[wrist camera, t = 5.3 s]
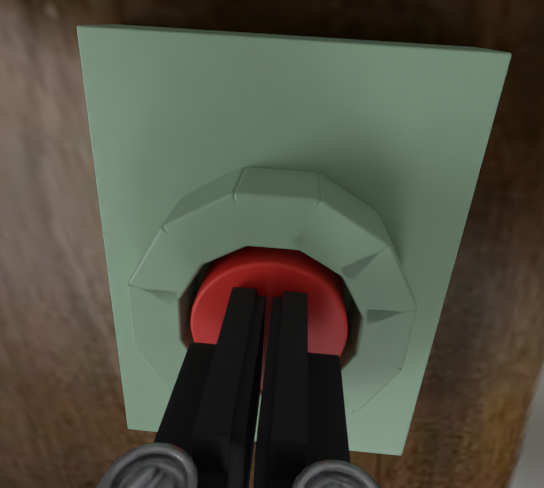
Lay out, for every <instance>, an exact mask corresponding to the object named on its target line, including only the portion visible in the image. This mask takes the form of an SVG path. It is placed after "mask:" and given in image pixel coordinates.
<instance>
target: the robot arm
mask: <svg viewBox="0 0 544 488" xmlns="http://www.w3.org/2000/svg"><path fill="white" fill-rule="evenodd" d="M265 306H266V296H261V295H257V289H254V288H242V287H233V288H232V291H231V294H230V298H229V301H228V305H227V309H226V312H225V316H224V319H223V323H222V326H221V330H220V334H219V337H218V341H217V344H209V343H198V342H192V343H190V345H189V347H188V350H187V352H186V355H185V358H184V361H183V363H182V366H181V369H180V372H179V374H178V377H177V380H176V383H175V385H174V388H173V391H172V394H171V396H170V399H169V402H168V405H167V407H166V410H165V413H164V415H163V418H162V421H161V424H160V426H159V429H158V432H157V435H156V437H155V440H154V443H150V444H144V445H140V446H138V447H135V448H133V449H131V450H128V451H127V452H126V453H124V454H123V455H121V456H120V457H119V458H117V459H116V460H115V461H114V462H113V464H112V465H111V466H110V467H109V468H108V470H107V471H106V472H105V474H104V475H103V477H102V479H101V480H100V482H99V483H98V485H97V487H96V488H249V481H250V473H251V465H252V457H253V449H254V441H255V433H256V424H257V416H258V408H259V400H260V390H261V374H262V357H263V340H264V323H265ZM254 488H380V486H379V485H378V484H377V483H376V481H375V480H374V479H373V478H372V477H371V476H370V475H369V474H368V473H367V472H365V471H364V470H362V469H361V468H359V467H358V466H356V465H353V464H351V463H350V454H349V444H348V434H347V424H346V414H345V404H344V394H343V384H342V374H341V364H340V357H339V355H332V354H321V353H310V352H308V294H307V293H301V292H289V291H283V297H273V304H272V312H271V321H270V329H269V337H268V346H267V354H266V362H265V370H264V379H263V387H262V395H261V403H260V412H259V420H258V429H257V440H256V453H255V471H254Z"/></svg>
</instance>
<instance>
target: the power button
mask: <svg viewBox="0 0 544 488" xmlns="http://www.w3.org/2000/svg"><path fill="white" fill-rule="evenodd" d="M233 287H242V288H254V289H257V295H261V296H266V306H265V323H264V340H263V357H262V374H261V389H262V387H263V379H264V370H265V362H266V354H267V346H268V337H269V329H270V321H271V312H272V304H273V297H283V291H289V292H301V293H307V294H308V352H310V353H321V354H332V355H339V357H340V355H341V353H342V351H343V349H344V347H345V344H346V340H347V334H348V324H347V315H346V307H345V300H344V292H343V285H342V280H341V276H340V275H339V274H337V273H336V272H334V271H333V270H331V269H329V268H328V267H326V266H325V265H323V264H321V263H320V262H318V261H317V260H315V259H313V258H312V257H310V256H309V255H307V254H305V253H304V252H302V251H300V250H293V249H280V248H268V247H256V246H245V247H243V248H241V249H238V250H236V251H234V252H231V253H229V254H227V255H224V256H222V257H220V258H217V259H215V260H213V261H211V262H210V264H209V266H208V269H207V271H206V274H205V276H204V279H203V282H202V284H201V287H200V289H199V292H198V294H197V297H196V299H195V302H194V304H193V307H192V312H191V322H190V324H191V332H192V336H193V339H194V342H198V343H209V344H217V341H218V337H219V334H220V330H221V326H222V323H223V319H224V316H225V312H226V309H227V305H228V301H229V298H230V294H231V291H232V288H233Z"/></svg>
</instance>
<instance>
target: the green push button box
mask: <svg viewBox="0 0 544 488" xmlns="http://www.w3.org/2000/svg"><path fill="white" fill-rule="evenodd" d="M77 34H78V42H79V50H80V58H81V66H82V73H83V81H84V89H85V97H86V105H87V112H88V120H89V128H90V136H91V144H92V152H93V159H94V167H95V175H96V183H97V191H98V198H99V206H100V214H101V222H102V230H103V237H104V245H105V253H106V261H107V269H108V276H109V284H110V292H111V300H112V308H113V315H114V323H115V331H116V339H117V347H118V354H119V362H120V370H121V378H122V386H123V394H124V401H125V409H126V417H127V425H128V429H134V430H144V431H155V432H158V429H159V426H160V424H161V421H162V418H163V415H164V413H165V410H166V407H167V405H168V402H169V399H170V396H171V394H172V391H173V388H174V385H175V383H176V380H177V377H178V374H179V372H180V369H181V366H182V363H183V361H184V358H185V355H186V352H187V350H188V347H189V345H190V343H192V342H194V339H193V336H192V332H191V324H190V322H191V312H192V307H193V304H194V302H195V299H196V297H197V294H198V292H199V289H200V287H201V284H202V282H203V279H204V276H205V274H206V271H207V269H208V266H209V264H210V262H211V261H213V260H215V259H217V258H220V257H222V256H224V255H227V254H229V253H231V252H234V251H236V250H238V249H241V248H243V247H245V246H256V247H268V248H280V249H293V250H300V251H302V252H304V253H305V254H307V255H309V256H310V257H312V258H313V259H315V260H317V261H318V262H320V263H321V264H323V265H325V266H326V267H328V268H329V269H331V270H333V271H334V272H336V273H337V274H339V275H340V276H341V280H342V285H343V292H344V300H345V307H346V315H347V324H348V334H347V340H346V344H345V347H344V349H343V351H342V353H341V355H340V364H341V374H342V384H343V394H344V404H345V414H346V424H347V434H348V444H349V450H350V451H360V452H371V453H381V454H391V455H402V453H403V449H404V445H405V442H406V438H407V434H408V431H409V427H410V424H411V420H412V416H413V413H414V409H415V405H416V402H417V398H418V394H419V391H420V387H421V383H422V380H423V376H424V372H425V369H426V365H427V362H428V358H429V354H430V351H431V347H432V343H433V340H434V336H435V332H436V329H437V325H438V321H439V318H440V314H441V311H442V307H443V303H444V300H445V296H446V292H447V289H448V285H449V281H450V278H451V274H452V270H453V267H454V263H455V259H456V256H457V252H458V249H459V245H460V241H461V238H462V234H463V230H464V227H465V223H466V219H467V216H468V212H469V208H470V205H471V201H472V197H473V194H474V190H475V187H476V183H477V179H478V176H479V172H480V168H481V165H482V161H483V157H484V154H485V150H486V146H487V143H488V139H489V136H490V132H491V128H492V125H493V121H494V117H495V114H496V110H497V106H498V103H499V99H500V95H501V92H502V88H503V84H504V81H505V77H506V74H507V70H508V66H509V63H510V59H511V53H509V52H502V51H496V50H490V49H484V48H478V47H467V46H451V45H435V44H419V43H404V42H388V41H372V40H356V39H340V38H324V37H309V36H293V35H277V34H261V33H245V32H229V31H214V30H198V29H182V28H166V27H150V26H134V25H118V24H112V25H79V26H77ZM261 395H262V389H261V390H260V400H259V408H258V416H257V424H256V433H255V441H256V440H257V429H258V420H259V412H260V403H261Z"/></svg>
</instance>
